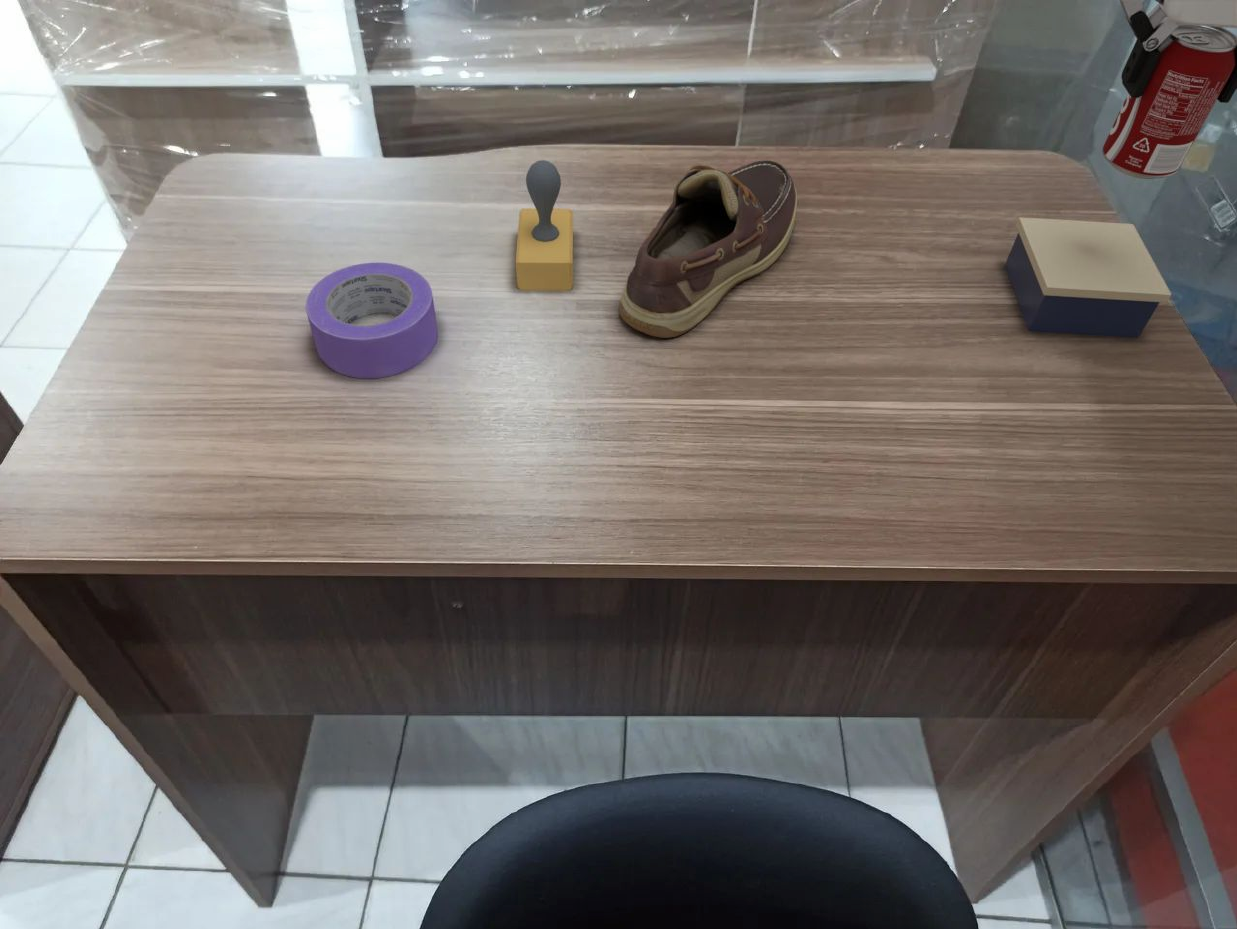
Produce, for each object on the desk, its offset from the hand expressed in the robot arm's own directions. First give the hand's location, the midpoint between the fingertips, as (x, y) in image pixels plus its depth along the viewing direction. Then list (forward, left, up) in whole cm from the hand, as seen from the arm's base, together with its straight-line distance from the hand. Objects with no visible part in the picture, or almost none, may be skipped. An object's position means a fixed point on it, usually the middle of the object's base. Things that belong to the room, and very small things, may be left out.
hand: (1174, 91), depth 79 cm
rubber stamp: (+56, -1, -23) cm, 61 cm away
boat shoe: (+38, -3, -23) cm, 45 cm away
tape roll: (+71, +13, -23) cm, 76 cm away
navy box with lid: (0, 0, -23) cm, 23 cm away
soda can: (0, 0, -7) cm, 7 cm away
